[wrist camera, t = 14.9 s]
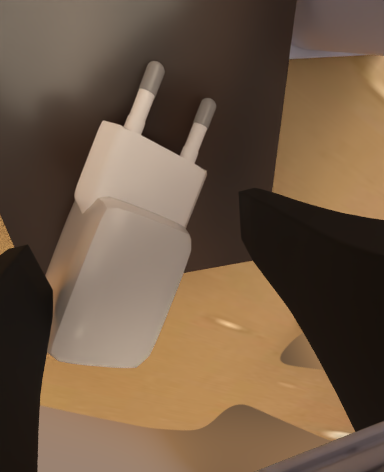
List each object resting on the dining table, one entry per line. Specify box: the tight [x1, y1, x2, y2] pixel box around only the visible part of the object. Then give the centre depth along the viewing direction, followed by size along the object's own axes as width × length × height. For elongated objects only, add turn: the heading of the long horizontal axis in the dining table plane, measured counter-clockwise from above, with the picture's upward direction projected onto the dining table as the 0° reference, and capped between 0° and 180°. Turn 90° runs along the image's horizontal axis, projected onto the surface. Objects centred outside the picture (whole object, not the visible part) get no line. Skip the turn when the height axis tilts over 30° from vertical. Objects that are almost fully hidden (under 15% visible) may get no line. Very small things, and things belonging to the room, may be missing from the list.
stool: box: [0, 0, 297, 275], centre depth 17 cm, size 14×14×5 cm
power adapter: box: [45, 61, 216, 368], centre depth 13 cm, size 11×5×6 cm, turn 149°
